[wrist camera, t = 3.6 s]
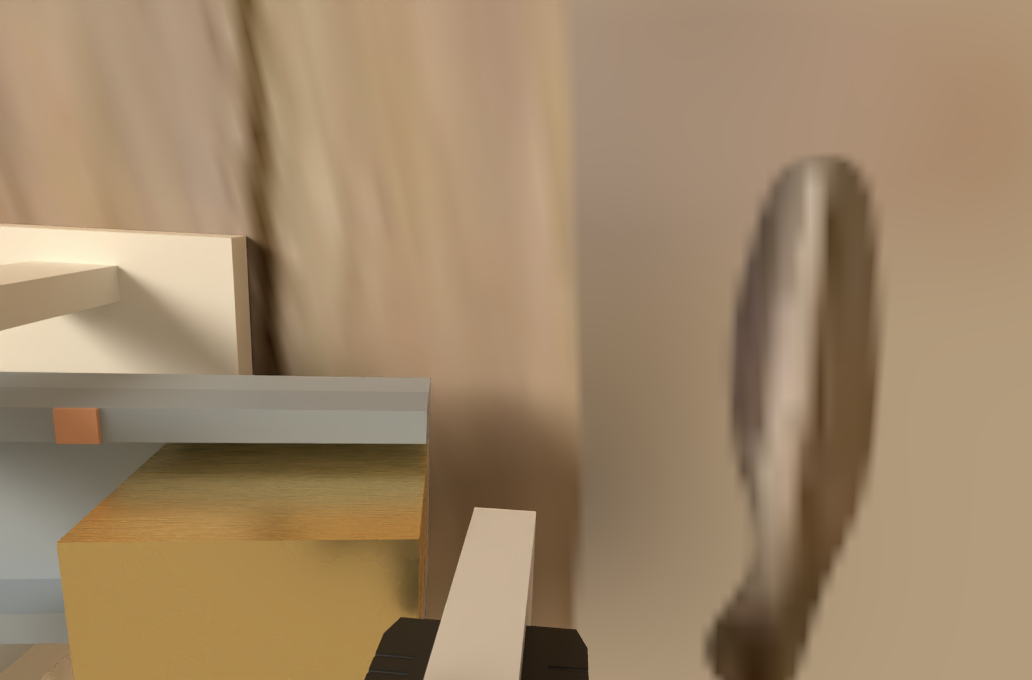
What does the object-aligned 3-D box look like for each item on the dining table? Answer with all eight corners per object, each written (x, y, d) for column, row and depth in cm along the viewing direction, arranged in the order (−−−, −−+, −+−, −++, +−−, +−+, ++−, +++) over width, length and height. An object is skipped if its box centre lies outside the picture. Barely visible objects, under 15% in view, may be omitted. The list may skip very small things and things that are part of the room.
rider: (172, 437, 18) (56, 542, 13) (428, 438, 19) (419, 539, 14) (182, 561, 19) (77, 708, 14) (427, 558, 20) (417, 696, 14)
